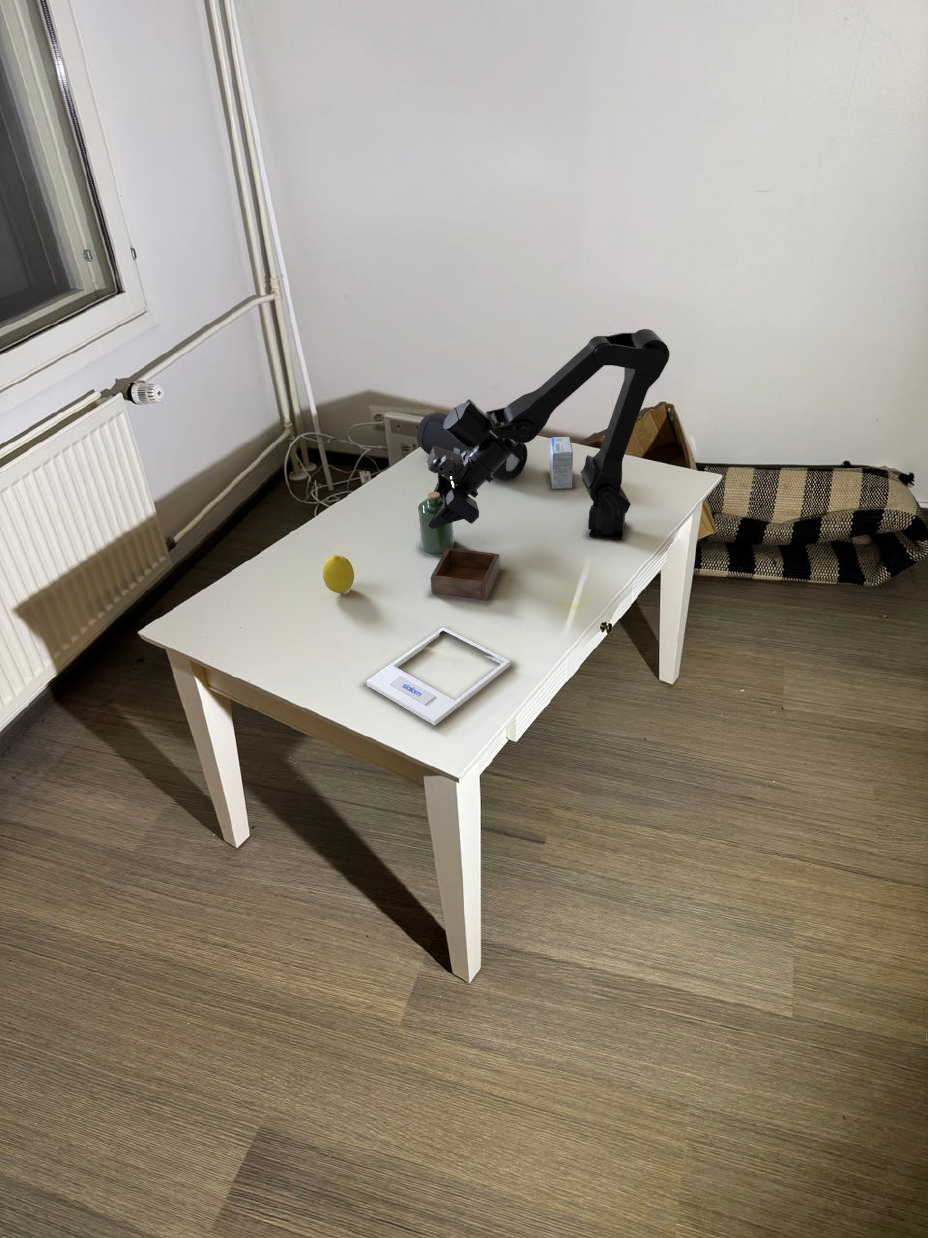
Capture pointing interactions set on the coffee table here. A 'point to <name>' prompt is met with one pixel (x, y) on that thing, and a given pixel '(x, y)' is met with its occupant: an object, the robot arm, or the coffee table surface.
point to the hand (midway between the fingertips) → (428, 518)
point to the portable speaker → (461, 445)
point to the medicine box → (561, 462)
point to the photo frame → (421, 695)
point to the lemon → (338, 574)
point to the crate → (465, 574)
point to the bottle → (436, 537)
